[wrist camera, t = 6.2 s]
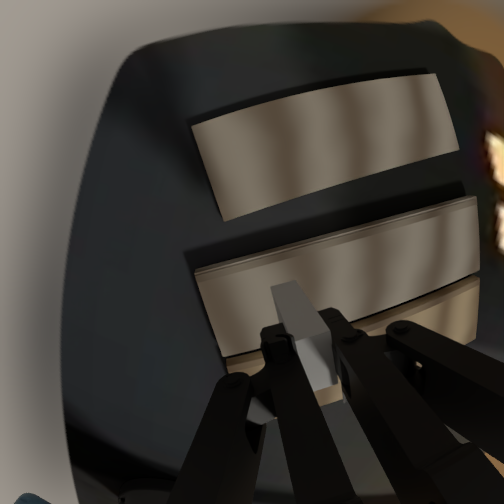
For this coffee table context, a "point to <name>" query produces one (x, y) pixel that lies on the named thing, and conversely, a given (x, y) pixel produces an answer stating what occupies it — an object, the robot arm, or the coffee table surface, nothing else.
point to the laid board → (419, 311)
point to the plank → (322, 140)
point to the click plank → (344, 270)
